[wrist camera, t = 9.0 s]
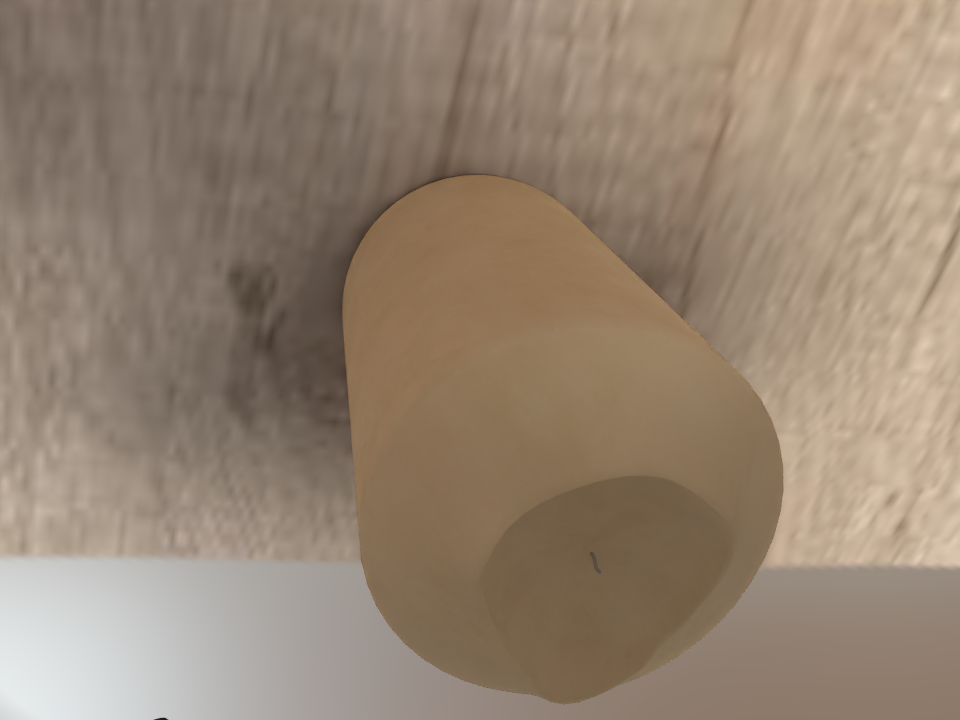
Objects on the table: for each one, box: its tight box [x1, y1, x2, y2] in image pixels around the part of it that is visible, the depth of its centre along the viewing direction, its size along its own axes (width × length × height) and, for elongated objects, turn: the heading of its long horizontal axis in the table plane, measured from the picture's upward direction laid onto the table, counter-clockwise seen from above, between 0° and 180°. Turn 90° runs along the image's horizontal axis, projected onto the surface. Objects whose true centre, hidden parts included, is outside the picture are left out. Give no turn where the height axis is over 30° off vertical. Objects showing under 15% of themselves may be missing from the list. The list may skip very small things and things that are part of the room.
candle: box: [342, 175, 783, 704], centre depth 15 cm, size 6×6×10 cm
